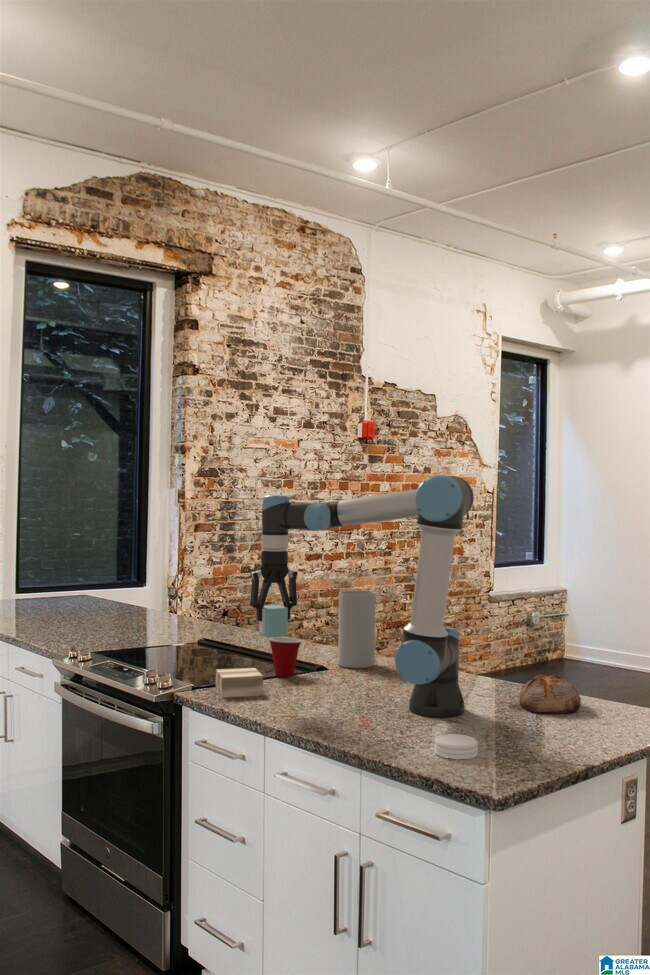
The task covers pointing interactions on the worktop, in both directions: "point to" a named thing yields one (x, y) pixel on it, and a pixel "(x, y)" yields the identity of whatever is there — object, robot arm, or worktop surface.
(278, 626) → the teal block
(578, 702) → the bread
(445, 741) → the coaster
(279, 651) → the plastic cup
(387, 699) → the worktop surface
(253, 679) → the birch block
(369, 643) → the cylinder vase
